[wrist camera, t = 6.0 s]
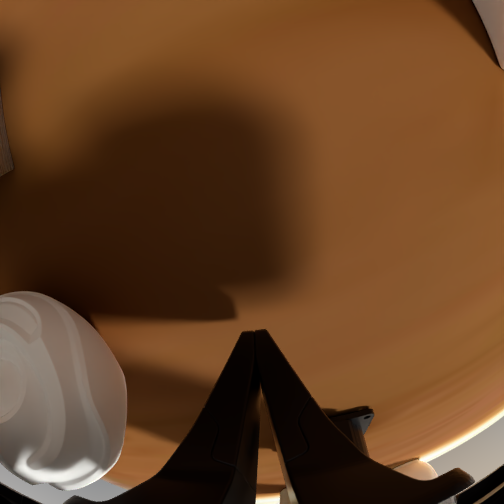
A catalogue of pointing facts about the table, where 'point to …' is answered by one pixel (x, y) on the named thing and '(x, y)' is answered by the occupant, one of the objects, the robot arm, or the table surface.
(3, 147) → the grey block
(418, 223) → the table surface
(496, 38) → the jar
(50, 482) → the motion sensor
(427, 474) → the lidded jar
